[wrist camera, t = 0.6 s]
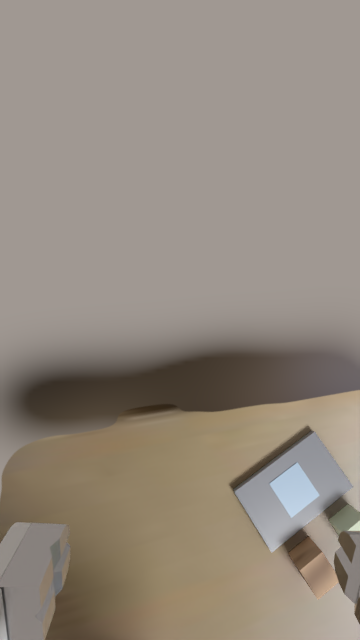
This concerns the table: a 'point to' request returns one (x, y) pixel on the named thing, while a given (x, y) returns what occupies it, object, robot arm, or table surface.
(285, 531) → the board
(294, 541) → the table surface
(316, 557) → the walnut cube
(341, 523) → the green cube
